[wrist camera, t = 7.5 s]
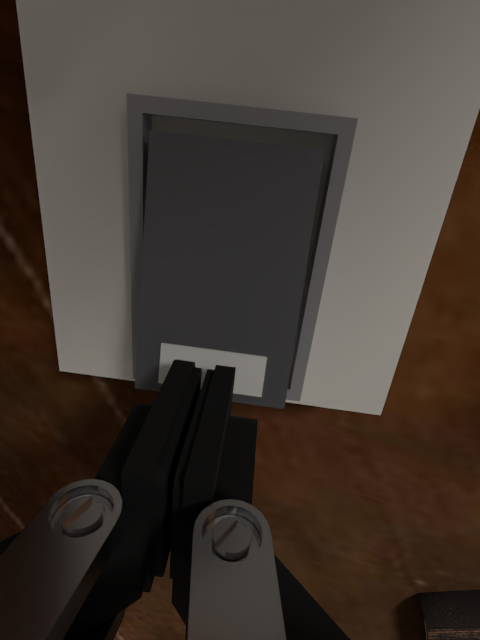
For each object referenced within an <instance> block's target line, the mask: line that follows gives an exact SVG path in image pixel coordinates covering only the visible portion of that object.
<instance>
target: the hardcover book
mask: <svg viewBox="0 0 480 640" xmlns="http://www.w3.org/2000/svg"><path fill="white" fill-rule="evenodd" d="M417 595H418V598H419V602H420V605H421V608H422V611H423V615H424V619H425V629H426V640H480V590H468V591H448V592H428V593H418V594H417Z"/></svg>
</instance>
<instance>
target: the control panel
mask: <svg viewBox="0 0 480 640" xmlns="http://www.w3.org/2000/svg"><path fill="white" fill-rule="evenodd" d="M16 7H17V15H18V24H19V32H20V41H21V49H22V58H23V66H24V75H25V83H26V91H27V100H28V108H29V117H30V125H31V134H32V142H33V151H34V159H35V168H36V176H37V184H38V193H39V201H40V210H41V218H42V227H43V235H44V244H45V252H46V261H47V269H48V278H49V286H50V294H51V303H52V311H53V320H54V328H55V337H56V345H57V354H58V362H59V371H64V372H71V373H79V374H86V375H93V376H100V377H108V378H115V379H122V380H129V381H135V373H136V356H137V339H138V322H139V304H140V287H141V270H142V252H143V235H144V218H145V201H146V183H147V166H148V149H149V132H150V130H153V131H162V132H171V133H179V134H188V135H197V136H206V137H215V138H224V139H233V140H242V141H251V142H260V143H269V144H278V145H287V146H295V147H304V148H313V149H322V150H325V153H324V160H323V166H322V172H321V179H320V185H319V192H318V198H317V204H316V211H315V217H314V223H313V230H312V236H311V242H310V249H309V255H308V262H307V268H306V274H305V281H304V287H303V293H302V300H301V306H300V312H299V319H298V325H297V332H296V338H295V344H294V351H293V357H292V363H291V370H290V376H289V382H288V389H287V395H286V402H288V403H296V404H303V405H310V406H317V407H325V408H332V409H339V410H346V411H354V412H361V413H368V414H375V415H381V413H382V410H383V406H384V403H385V400H386V397H387V394H388V391H389V388H390V385H391V382H392V379H393V375H394V372H395V369H396V366H397V363H398V360H399V357H400V354H401V351H402V348H403V344H404V341H405V338H406V335H407V332H408V329H409V326H410V323H411V320H412V317H413V313H414V310H415V307H416V304H417V301H418V298H419V295H420V292H421V289H422V286H423V282H424V279H425V276H426V273H427V270H428V267H429V264H430V261H431V258H432V254H433V251H434V248H435V245H436V242H437V239H438V236H439V233H440V230H441V227H442V223H443V220H444V217H445V214H446V211H447V208H448V205H449V202H450V199H451V196H452V192H453V189H454V186H455V183H456V180H457V177H458V174H459V171H460V168H461V165H462V161H463V158H464V155H465V152H466V149H467V146H468V143H469V140H470V137H471V134H472V130H473V127H474V124H475V121H476V118H477V115H478V112H479V109H480V0H16Z"/></svg>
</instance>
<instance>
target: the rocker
mask: <svg viewBox="0 0 480 640" xmlns="http://www.w3.org/2000/svg"><path fill="white" fill-rule="evenodd" d="M324 153H325V150H322V149H313V148H304V147H295V146H287V145H278V144H269V143H260V142H251V141H242V140H233V139H224V138H215V137H206V136H197V135H188V134H179V133H171V132H162V131H153V130H150V132H149V149H148V166H147V183H146V201H145V218H144V235H143V252H142V270H141V287H140V304H139V322H138V339H137V356H136V373H135V388H136V389H143V390H150V391H157V392H159V390H160V388H161V386H162V384H163V382H164V380H165V378H166V376H167V374H168V371H169V369H170V367H171V365H172V363H173V361H174V360H175V359H176V360H184V361H191V362H195V367H196V368H202V377H201V388H202V385H203V382H204V378H205V375H206V372H207V369H211V370H215V366H216V365H221V366H229V367H236V371H235V380H234V389H233V397H232V402H237V403H244V404H251V405H258V406H265V407H273V408H280V409H284V408H285V402H286V395H287V389H288V382H289V376H290V370H291V363H292V357H293V351H294V344H295V338H296V332H297V325H298V319H299V312H300V306H301V300H302V293H303V287H304V281H305V274H306V268H307V262H308V255H309V249H310V242H311V236H312V230H313V223H314V217H315V211H316V204H317V198H318V192H319V185H320V179H321V172H322V166H323V160H324Z"/></svg>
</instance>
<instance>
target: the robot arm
mask: <svg viewBox="0 0 480 640" xmlns="http://www.w3.org/2000/svg"><path fill="white" fill-rule="evenodd" d="M235 371H236V367H229V366H221V365H216V366H215V370H211V369H207V372H206V375H205V378H204V382H203V385H202V388H201V377H202V368H196V367H195V362H191V361H184V360H176V359H175V360H174V361H173V363H172V365H171V367H170V369H169V371H168V374H167V376H166V378H165V380H164V382H163V384H162V386H161V388H160V390H159V393H158V395H157V397H156V399H155V401H154V403H153V405H149V404H141V403H137V404H135V406H134V407H133V409H132V411H131V413H130V414H129V416H128V418H127V420H126V422H125V424H124V425H123V427H122V429H121V431H120V433H119V435H118V437H117V438H116V440H115V442H114V444H113V446H112V448H111V449H110V451H109V453H108V455H107V457H106V459H105V461H104V462H103V464H102V466H101V468H100V470H99V472H98V473H97V475H96V477H95V479H87V480H80V481H77V482H74V483H71V484H68V485H66V486H65V487H63V488H61V489H60V490H58V491H57V492H56V493H55V494H53V495H52V496H51V497H50V498H49V499H48V500H47V501H46V503H45V504H44V505H43V506H42V507H41V509H40V510H39V511H38V512H37V513H36V515H35V516H34V517H33V518H32V519H31V521H30V522H29V523H28V524H27V525H26V527H25V528H24V529H23V530H22V531H21V532H19V533H17V534H15V535H13V536H11V537H9V538H7V539H5V540H3V541H1V542H0V640H114V638H115V636H116V633H117V631H118V629H119V627H120V625H121V623H122V620H123V617H124V614H125V611H126V608H127V607H128V606H130V605H131V604H132V603H134V602H135V601H137V600H138V599H140V598H141V596H142V592H143V591H144V592H150V590H151V587H152V583H153V580H154V576H158V577H163V575H164V572H165V568H166V564H167V561H168V557H169V553H170V549H171V556H170V578H171V579H173V587H172V604H173V605H174V607H175V609H176V610H177V612H178V613H179V615H180V617H181V618H182V620H183V622H184V623H185V625H186V636H185V640H350V639H349V638H348V637H347V636H346V634H345V633H344V632H343V631H342V630H341V629H340V628H339V627H338V625H337V624H336V623H335V622H334V621H333V620H332V619H331V618H330V616H329V615H328V614H327V613H326V612H325V611H324V610H323V609H322V607H321V606H320V605H319V604H318V603H317V602H316V601H315V600H314V598H313V597H312V596H311V595H310V594H309V593H308V592H307V591H306V589H305V588H304V587H303V586H302V585H301V584H300V583H299V582H298V580H297V579H296V578H295V577H294V576H293V575H292V574H291V573H290V571H289V570H288V569H287V568H286V567H285V566H284V565H283V564H282V562H281V561H280V560H279V559H278V558H277V557H276V556H275V555H274V551H273V544H272V537H271V531H270V528H269V525H268V522H267V520H266V519H265V517H264V516H263V515H262V513H261V512H260V511H259V510H257V509H256V508H255V507H254V506H252V492H253V478H254V464H255V450H256V436H257V419H250V418H243V417H235V416H230V415H231V406H232V397H233V389H234V380H235Z"/></svg>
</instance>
